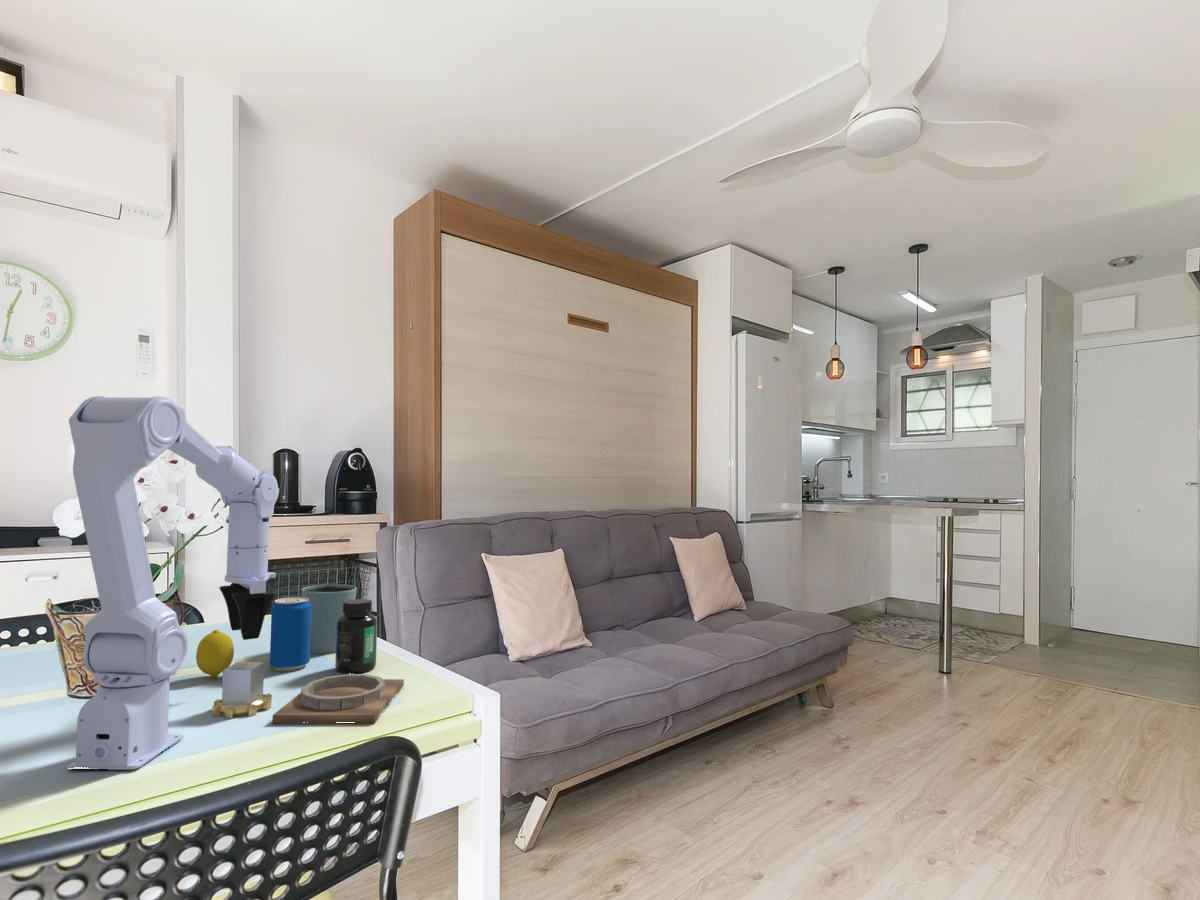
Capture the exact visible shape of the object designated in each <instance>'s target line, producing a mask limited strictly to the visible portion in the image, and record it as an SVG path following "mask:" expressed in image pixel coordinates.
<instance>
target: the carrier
mask: <svg viewBox="0 0 1200 900" xmlns="http://www.w3.org/2000/svg"><path fill="white" fill-rule="evenodd" d="M404 685H405V679H404V678H401V679H400V678H397V679H394V678H393V679H392V678H391V679H389V678H387V679H384V678H382V677H381V676H378V675H372V674H368V673H367V674H366V673H359V674H338V675H331V676H325V677H323V678H319V679H318V678H317V679H315V680H311V681H310V682H308V683H307V684H305V685H304V686H303V687H302V688H301V689H300V692H299V693H298V694H297V695H296V696H295V697H293V698H292V699H291V700H290V701H289V702H287V703H286V704H285V705H284V706H282V707H281V708H280V709H278V710H277V711H276V712H275V713H273V714H272V723H303V722H305V723H307V722H308V723H336V722H355V723H359V725H360V724H363V725H364V724H365V725H366V724H376V722H377V721H378V720H379V719H380V717H381V716H380V714H381V713H382V712H383V710H384V709H385V708H386V707H387V706H388V705H389V703H390V702H391V701H392V699H393V698H394V697H395V695H396V694H397V693H398V692H399V691H400V690H401V688H402V687H403V686H404ZM404 687H405V686H404ZM404 687H403V688H404ZM403 688H402V689H403ZM401 691H402V690H401ZM401 691H400V692H401ZM400 692H399V693H400ZM399 693H398V694H399ZM395 698H396V697H395ZM395 698H394V699H395ZM392 702H393V701H392ZM392 702H391V703H392ZM391 703H390V704H391ZM389 706H390V705H389ZM389 706H388V707H389ZM388 707H387V708H388ZM383 713H384V712H383ZM379 716H380V717H379ZM378 718H379V719H378ZM272 723H271V724H272Z"/></svg>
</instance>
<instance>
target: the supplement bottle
mask: <svg viewBox="0 0 1200 900" xmlns="http://www.w3.org/2000/svg"><path fill="white" fill-rule="evenodd" d="M372 607H373V601H372V600H371V599H369V598H355V599H353V600H347V601H344V602H343V610H342V612H343V613H344V616H342V617H341V618H340V619H339V620H338V621H337V626H336V653H335V663H334V664H335V670H336V672H337V673H339V672H340V673H339V674H342V673H345V674H346V673H348V674H349V673H351V674H352V673H359V674H364V673H367V671H368V672H371V671H373V670H374V669H375V668H376V666H377V665H376V664H377V644H378V643H377V642H378V638H377V635H378V619H377V618H376V616H375V615H373V614H371V612H372V611H373V608H372ZM373 668H374V669H373ZM372 669H373V670H372ZM370 670H371V671H370ZM363 672H364V673H363ZM346 675H347V674H346Z"/></svg>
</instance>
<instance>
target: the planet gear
mask: <svg viewBox="0 0 1200 900" xmlns="http://www.w3.org/2000/svg"><path fill="white" fill-rule="evenodd" d="M264 672H265V662H264V661H262V662H261V661H259V662H258V661H256V662H252V661H249V662H248V661H247V662H245V661H242V662H241V661H237V662H235V663H233V664H232V665H231V664H230V666H229V667H228V668H226V669H224V670H223V672H222V687H221V699H220V698H219V699H216V700H214V701H213V705H212V706H211V707H212V708H211V715H212V716H213V717H218V716H222V717H224V719H234V718H235V717H242V716H243V717H244V716H248V717H252V716H255V715H257V713H259V712H262V711H268V710H270V709H271V708H272V699H273V698H272V697H273V695H272V694H271V693H264V675H265V674H264Z"/></svg>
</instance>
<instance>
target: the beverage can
mask: <svg viewBox="0 0 1200 900" xmlns="http://www.w3.org/2000/svg"><path fill="white" fill-rule="evenodd" d="M308 600H309V598H306V597H302V596H291V597H282V598H278V599H275V600H274V604H273V605H272V607H271V612H270V613H271V614H270V615H271V617H270V623H271V624H270V644H269V645H270V649H269V666H270V667H271V668H273V669H274V670H275V671H276V672H293V671H297V670H301V669H303V668H305V667H306V665H307V664H309V663H310V658H311V656H310V655H311V654H310V630H311V604H310V603H309V601H308Z"/></svg>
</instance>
